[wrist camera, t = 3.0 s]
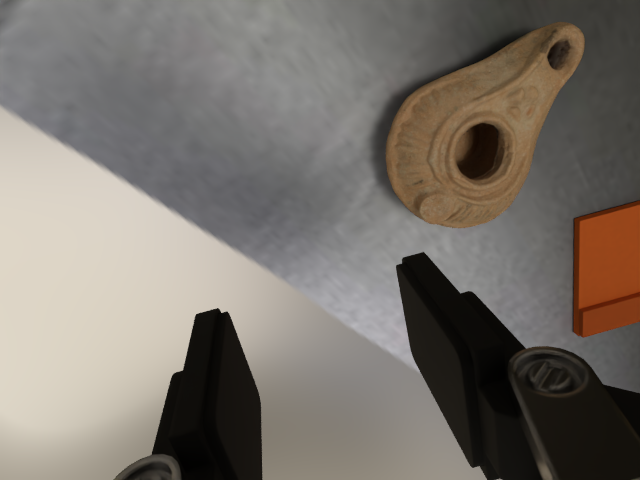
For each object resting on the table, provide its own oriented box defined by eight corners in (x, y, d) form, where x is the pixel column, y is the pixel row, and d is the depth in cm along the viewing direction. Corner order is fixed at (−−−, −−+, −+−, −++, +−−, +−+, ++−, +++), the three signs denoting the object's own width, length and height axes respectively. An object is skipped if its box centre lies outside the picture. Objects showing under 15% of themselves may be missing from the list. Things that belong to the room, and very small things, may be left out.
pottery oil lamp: (589, 75, 27) (658, 151, 23) (421, 181, 32) (451, 259, 28) (543, -42, 21) (623, 29, 17) (349, 110, 27) (372, 194, 22)
